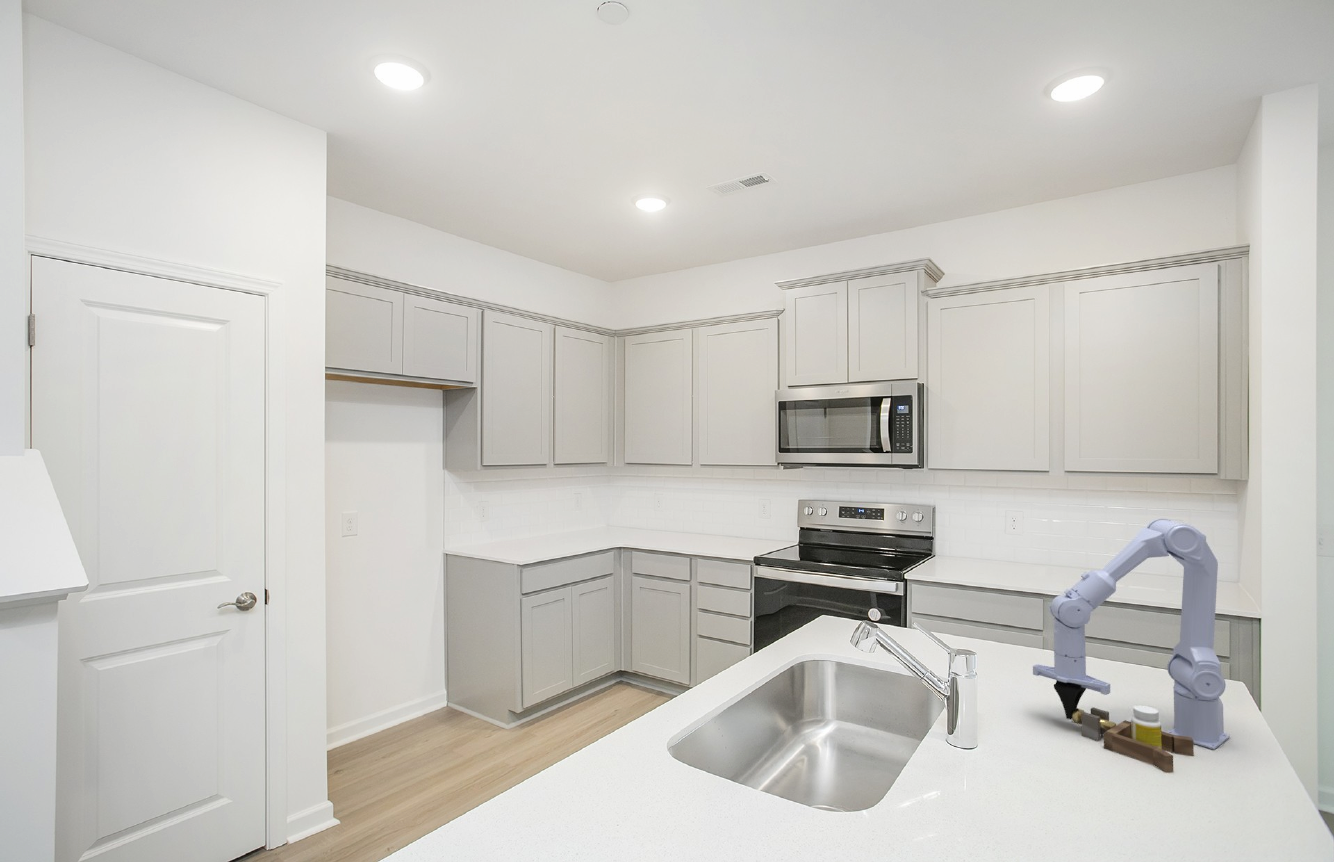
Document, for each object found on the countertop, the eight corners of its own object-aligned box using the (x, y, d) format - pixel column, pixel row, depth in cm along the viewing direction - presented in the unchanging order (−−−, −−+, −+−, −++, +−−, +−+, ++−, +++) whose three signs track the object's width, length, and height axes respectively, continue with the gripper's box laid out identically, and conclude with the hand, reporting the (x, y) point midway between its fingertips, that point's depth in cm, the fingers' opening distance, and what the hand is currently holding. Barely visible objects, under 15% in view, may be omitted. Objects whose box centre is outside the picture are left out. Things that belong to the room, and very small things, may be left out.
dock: (1101, 724, 142) (1101, 703, 142) (1196, 754, 128) (1195, 730, 128) (1073, 741, 134) (1072, 718, 134) (1170, 774, 121) (1170, 748, 121)
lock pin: (1079, 720, 141) (1078, 706, 141) (1117, 732, 135) (1117, 718, 135) (1072, 724, 139) (1072, 710, 139) (1111, 736, 133) (1110, 721, 133)
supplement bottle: (1167, 758, 127) (1167, 714, 127) (1142, 758, 127) (1141, 714, 127) (1151, 747, 131) (1150, 704, 131) (1126, 746, 132) (1125, 704, 132)
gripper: (1025, 648, 144) (1026, 711, 144) (1099, 667, 133) (1100, 735, 132) (1041, 642, 148) (1042, 703, 148) (1114, 659, 137) (1115, 726, 136)
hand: (1070, 718), depth 141 cm, fingers closed
